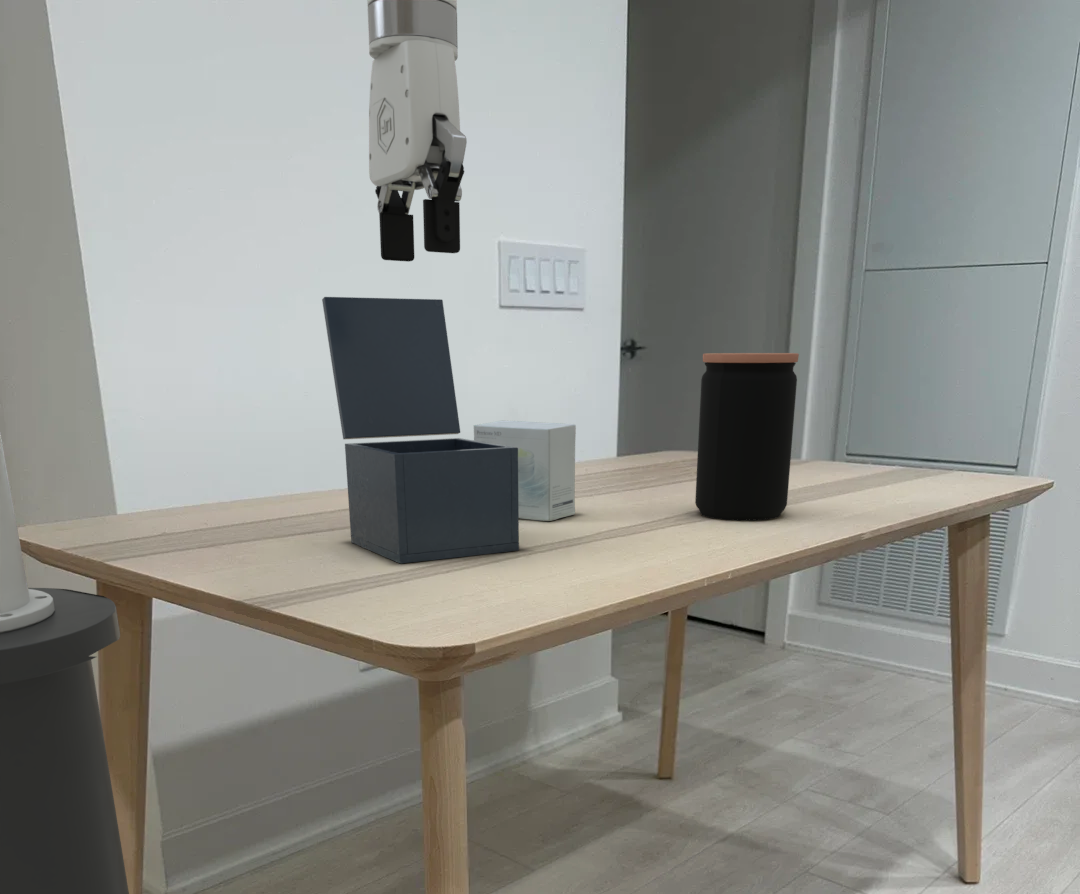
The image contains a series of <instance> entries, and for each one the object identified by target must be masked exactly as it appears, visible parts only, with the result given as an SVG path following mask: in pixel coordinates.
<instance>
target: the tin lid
mask: <svg viewBox="0 0 1080 894" xmlns="http://www.w3.org/2000/svg"><path fill="white" fill-rule="evenodd" d="M321 301H322V302H321V303H322V307H323V314H324V322H325V328H326V334H327V341H328V347H329V355H330V362H331V366H332V375H333V380H334V389H335V394H336V401H337V408H338V414H339V420H340V426H341V435H342V440H361V439H379V438H380V439H383V438H384V439H385V438H386V439H387V438H403V437H426V436H447V435H449V436H450V435H459V434H461V427H460V426H461V425H460V419H459V412H458V405H457V396H456V390H455V382H454V375H453V366H452V361H451V353H450V345H449V338H448V337H449V336H448V330H447V323H446V316H445V308H444V301H443V299H440V298H439V299H437V298H436V299H435V298H433V299H432V298H431V299H430V298H395V297H394V298H393V297H392V298H390V297H349V296H347V297H346V296H345V297H344V296H324V297H322V299H321Z"/></svg>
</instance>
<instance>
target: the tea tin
mask: <svg viewBox="0 0 1080 894" xmlns="http://www.w3.org/2000/svg"><path fill="white" fill-rule="evenodd" d="M344 449H345V450H344V454H345V466H346V482H347V483H346V484H347V498H348V512H349V515H348V516H349V526H350V528H349V529H350V540H351V541H350V543H352V544H354V545H356V546H359V547H361V548H363V549H365V550H368V551H370V552H373V553H374V554H377V555H379V556H382V557H384V558H386V559H388V560H391V561H393V562H396V563H398V564H400V565H401V564H409V563H420V562H428V561H437V560H446V559H454V558H465V557H475V556H482V555H492V554H499V553H508V552H517V551H520V529H519V528H520V525H519V521H520V518H519V511H518V448H517V447H511V446H505V445H499V444H493V443H486V442H480V441H474V439H468V438H467V439H466V438H461V437H454V438H453V437H452V438H451V437H450V438H433V439H432V438H431V439H429V438H428V439H413V440H412V439H410V440H391V441H390V440H389V441H370V442H369V441H367V442H351V443H350V442H349V443H344Z"/></svg>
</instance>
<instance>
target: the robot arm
mask: <svg viewBox="0 0 1080 894" xmlns="http://www.w3.org/2000/svg"><path fill="white" fill-rule="evenodd" d="M366 2H367V3H366V4H367V25H368V26H367V28H368V29H367V30H368V31H367V32H368V50H369V53H368V54H369V56H370V57H371V58H372V59H373V60H372V64H371V71H370V72H371V73H370V84H369V101H368V102H369V103H368V104H369V105H368V173H369V179H370V182H371V183H372V184H373V185H374V186H375V189H374V190H375V191H374V192H375V195H376V197H377V211H378V213H379V215H378V217H379V240H380V241H379V243H380V244H379V245H380V257H381V259H382V260H384V261H391V262H392V261H394V262H412V261H414V260H415V232H414V231H415V230H414V228H415V226H414V214H409V213H410V210H411V206H412V201H413V198H414V194H415V191H418V190H424V191H425V194H426V195H427V198H424V199H422V211H423V212H422V213H423V214H422V215H423V217H422V219H423V248H424V250H425V251H426V252H429V253H441V254H458V253H460V251H461V216H460V215H461V212H460V211H461V209H460V204H461V203H460V201H461V200H462V196H463V190H462V187H461V182H462V180H463V178H464V174H465V167H464V161H465V153H466V148H467V136H466V135H465V134H464V133H463V132H461V117H460V103H459V100H460V99H459V87H458V77H457V67H456V61H457V60H458V56H459V55H458V48H459V47H458V7H457V5H458V4H457V2H458V1H457V0H366ZM400 192H402V194H401V195H400ZM28 588H29V584H28V580H27V573H26V569H25V563H24V557H23V551H22V545H21V540H20V534H19V529H18V524H17V518H16V512H15V507H14V500H13V495H12V489H11V484H10V479H9V473H8V468H7V461H6V456H5V450H4V445H3V439H2V433H0V633H4V632H9V631H13V630H17V629H21V628H24V627H27V626H30V625H33V624H36V623H39V622H41V621H43V620H45V619H47V618H48V617H50V616H51V615H52V614H53V612H54V611H55V608H54V602H53V598H52V597H51V595H49V594H47V593H45V592H42V591H38V590H33V589H28Z"/></svg>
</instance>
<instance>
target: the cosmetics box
mask: <svg viewBox="0 0 1080 894" xmlns="http://www.w3.org/2000/svg"><path fill="white" fill-rule="evenodd" d="M576 429H577V426H576V424H575V423H563V422H560V423H559V422H546V421H545V422H543V421H523V420H522V421H521V420H517V421H516V420H497V421H491V422H485V423H479V424H474V425H473V440H474V441H480V442H486V443H493V444H499V445H505V446H511V447H517V448H518V511H519V519H522V520H529V521H531V520H532V521H541V522H552V521H556V520H558V519H559V520H560V519H562V518H565V517H570V516H574V515H575V514H576V502H575V501H576V484H575V483H576V434H577V433H576Z"/></svg>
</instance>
